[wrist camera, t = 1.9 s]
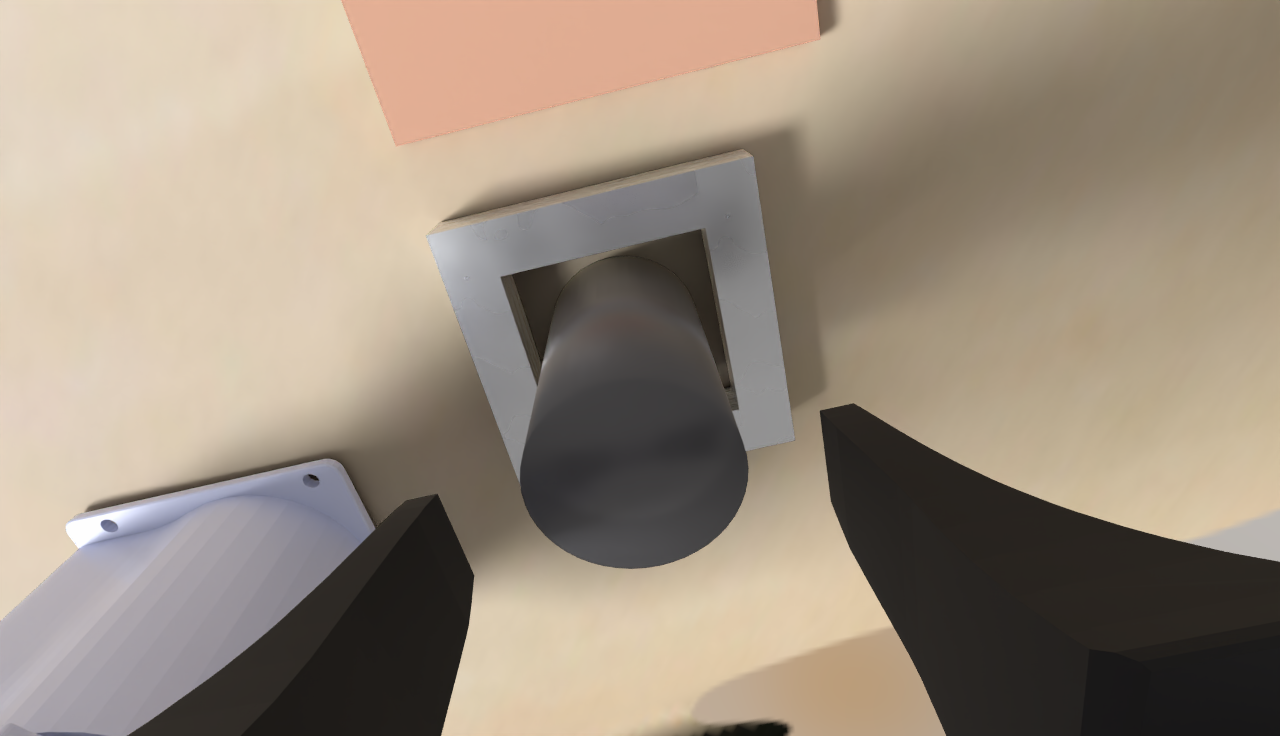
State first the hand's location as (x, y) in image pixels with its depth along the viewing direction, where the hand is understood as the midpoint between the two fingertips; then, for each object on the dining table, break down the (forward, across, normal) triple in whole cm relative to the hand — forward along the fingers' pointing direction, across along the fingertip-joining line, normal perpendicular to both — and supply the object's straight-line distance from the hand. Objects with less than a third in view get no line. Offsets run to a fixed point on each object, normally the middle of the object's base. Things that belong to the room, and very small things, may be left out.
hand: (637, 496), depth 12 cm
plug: (+9, 0, 0) cm, 9 cm away
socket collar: (+8, 0, 0) cm, 9 cm away
